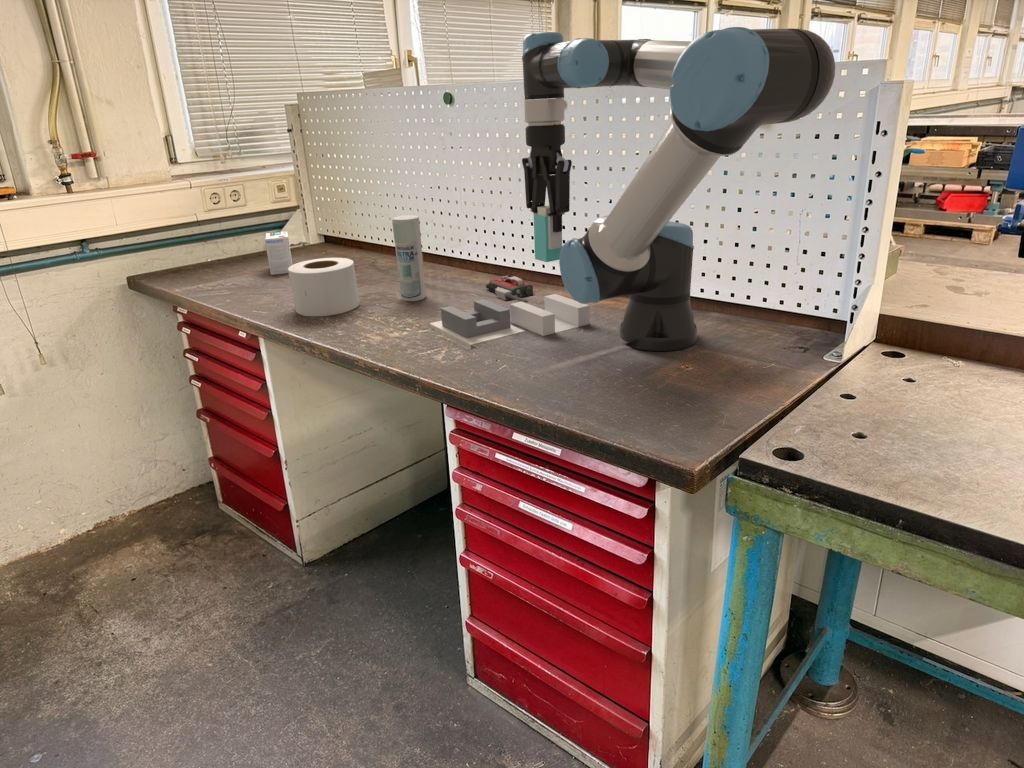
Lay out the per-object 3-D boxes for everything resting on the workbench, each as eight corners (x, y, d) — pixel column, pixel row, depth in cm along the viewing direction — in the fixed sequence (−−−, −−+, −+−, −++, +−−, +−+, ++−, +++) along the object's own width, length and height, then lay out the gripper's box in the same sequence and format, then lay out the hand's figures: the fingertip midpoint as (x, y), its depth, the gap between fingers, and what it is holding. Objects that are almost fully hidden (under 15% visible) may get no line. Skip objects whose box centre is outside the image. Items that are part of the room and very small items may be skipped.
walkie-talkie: (478, 292, 178) (523, 308, 162) (477, 275, 176) (522, 290, 161) (506, 286, 182) (553, 301, 167) (506, 270, 181) (552, 283, 165)
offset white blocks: (589, 328, 145) (589, 305, 144) (543, 340, 140) (542, 316, 138) (555, 315, 155) (555, 293, 153) (511, 326, 149) (509, 304, 147)
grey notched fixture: (525, 335, 143) (524, 312, 141) (471, 349, 137) (469, 325, 135) (481, 315, 157) (479, 294, 155) (430, 327, 151) (427, 305, 149)
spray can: (396, 301, 172) (387, 219, 164) (406, 294, 178) (398, 215, 170) (421, 301, 171) (413, 219, 163) (430, 294, 176) (422, 215, 169)
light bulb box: (271, 267, 214) (264, 232, 210) (293, 265, 216) (287, 230, 212) (270, 275, 205) (264, 238, 201) (294, 272, 207) (287, 236, 203)
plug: (562, 259, 141) (561, 206, 137) (546, 262, 139) (544, 209, 135) (550, 256, 144) (549, 204, 140) (535, 259, 142) (533, 207, 138)
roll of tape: (311, 320, 160) (304, 275, 156) (285, 308, 171) (277, 265, 167) (370, 306, 169) (365, 263, 165) (342, 295, 180) (336, 254, 176)
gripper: (588, 122, 127) (589, 249, 136) (535, 122, 140) (539, 238, 149) (555, 125, 123) (558, 255, 132) (504, 124, 136) (510, 243, 145)
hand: (548, 246), depth 140 cm, fingers closed on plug, 4 cm apart
